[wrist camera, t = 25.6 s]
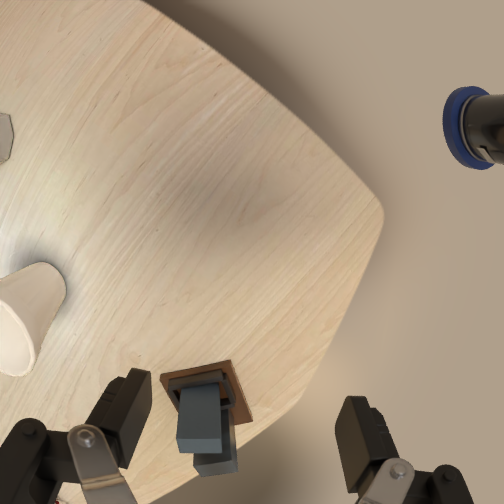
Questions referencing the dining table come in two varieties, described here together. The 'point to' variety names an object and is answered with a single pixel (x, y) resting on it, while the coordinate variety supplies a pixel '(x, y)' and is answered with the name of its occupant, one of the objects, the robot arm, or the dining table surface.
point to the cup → (27, 315)
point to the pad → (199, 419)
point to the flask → (5, 137)
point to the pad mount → (230, 405)
